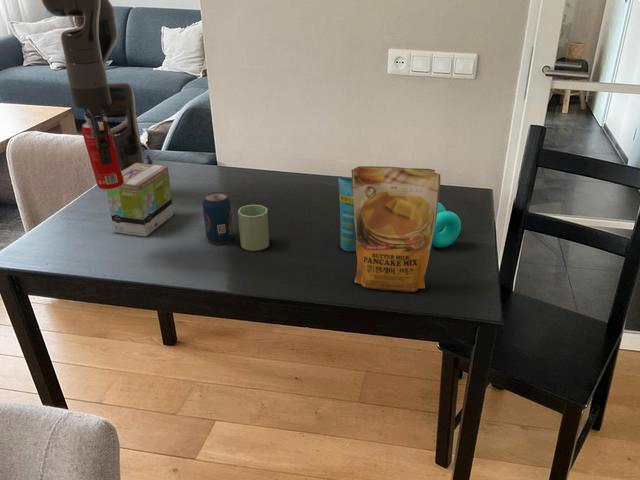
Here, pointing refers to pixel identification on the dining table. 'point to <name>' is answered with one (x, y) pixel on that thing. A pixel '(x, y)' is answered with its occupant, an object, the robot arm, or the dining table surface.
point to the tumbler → (253, 227)
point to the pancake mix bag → (394, 225)
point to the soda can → (217, 217)
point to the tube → (347, 214)
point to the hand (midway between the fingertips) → (104, 159)
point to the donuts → (450, 228)
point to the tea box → (141, 200)
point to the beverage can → (104, 174)
